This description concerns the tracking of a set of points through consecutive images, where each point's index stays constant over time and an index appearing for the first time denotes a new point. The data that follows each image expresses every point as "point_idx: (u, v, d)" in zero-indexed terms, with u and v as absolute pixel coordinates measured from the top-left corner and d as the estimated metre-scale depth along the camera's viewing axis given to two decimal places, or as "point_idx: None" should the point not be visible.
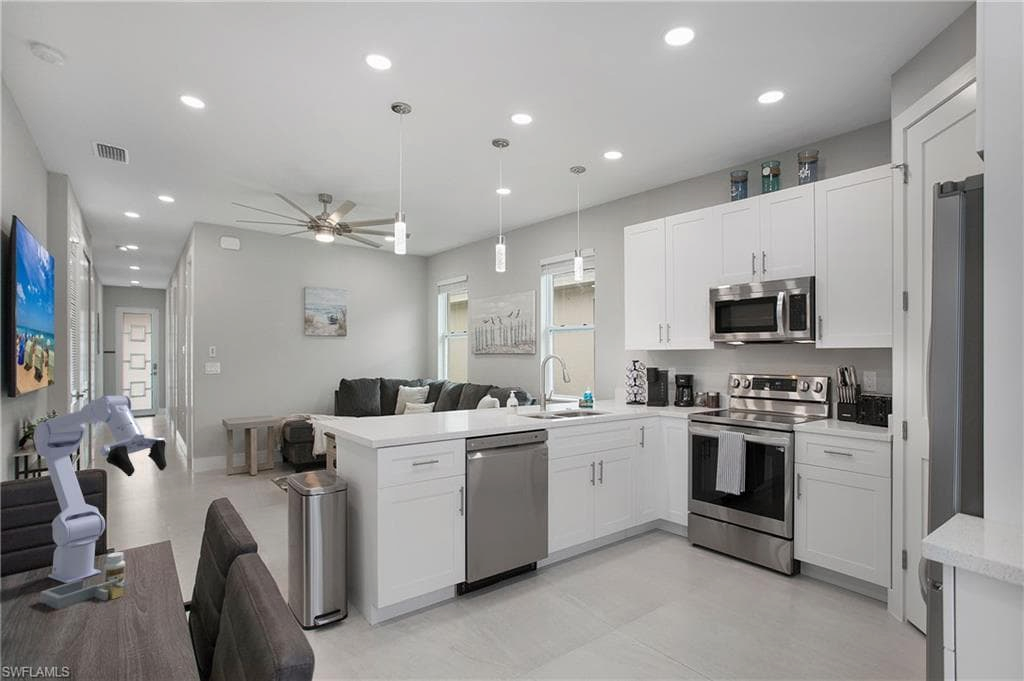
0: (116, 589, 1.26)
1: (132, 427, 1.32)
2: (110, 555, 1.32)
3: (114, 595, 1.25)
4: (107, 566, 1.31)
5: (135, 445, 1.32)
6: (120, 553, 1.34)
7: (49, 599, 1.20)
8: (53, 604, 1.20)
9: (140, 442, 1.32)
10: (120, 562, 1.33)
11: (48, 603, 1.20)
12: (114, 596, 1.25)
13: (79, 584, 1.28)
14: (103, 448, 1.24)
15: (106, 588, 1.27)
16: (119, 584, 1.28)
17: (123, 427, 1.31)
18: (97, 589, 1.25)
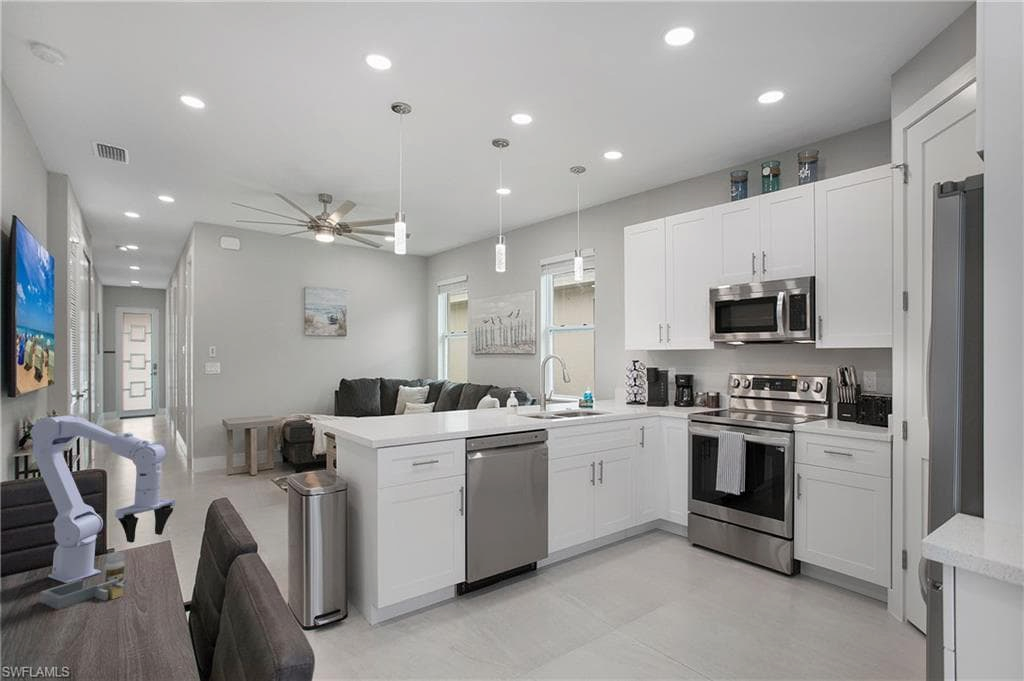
0: (116, 589, 1.26)
1: (153, 494, 1.39)
2: (110, 555, 1.32)
3: (114, 595, 1.25)
4: (107, 566, 1.31)
5: None
6: (120, 553, 1.34)
7: (49, 599, 1.20)
8: (53, 604, 1.20)
9: None
10: (120, 562, 1.33)
11: (48, 603, 1.20)
12: (114, 596, 1.25)
13: (79, 584, 1.28)
14: (119, 513, 1.33)
15: (106, 588, 1.27)
16: (119, 584, 1.28)
17: (146, 492, 1.38)
18: (97, 589, 1.25)
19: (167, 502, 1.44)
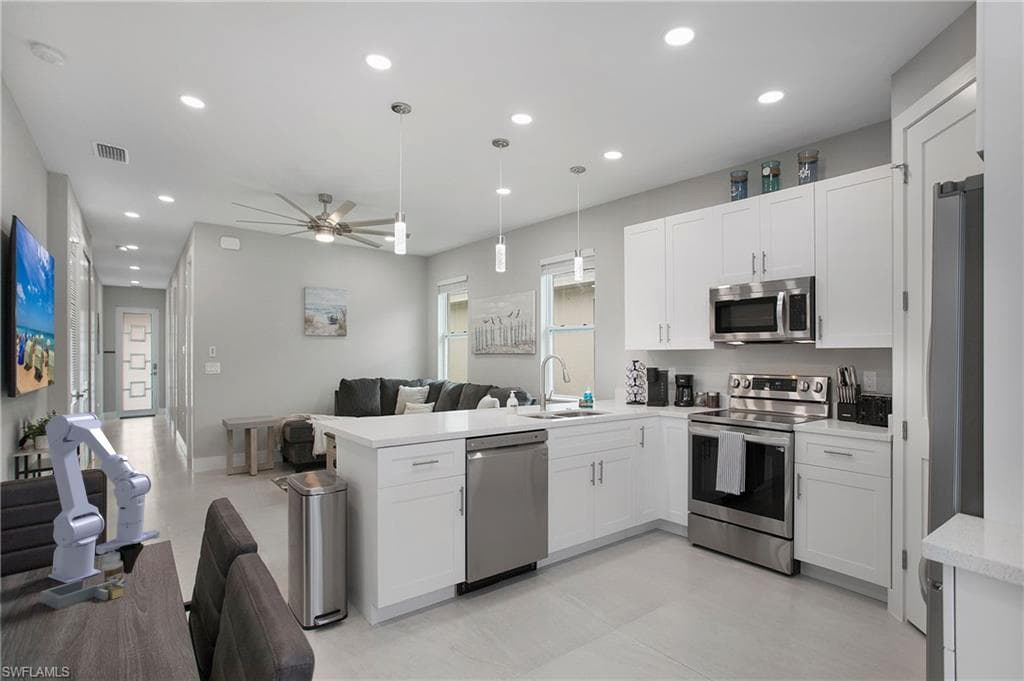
0: (116, 589, 1.26)
1: (136, 528, 1.35)
2: (106, 556, 1.32)
3: (114, 595, 1.25)
4: (105, 567, 1.30)
5: None
6: (117, 553, 1.33)
7: (49, 599, 1.20)
8: (53, 604, 1.20)
9: None
10: (117, 562, 1.32)
11: (48, 603, 1.20)
12: (114, 596, 1.25)
13: (79, 584, 1.28)
14: (99, 549, 1.29)
15: (106, 588, 1.27)
16: (119, 584, 1.28)
17: (128, 525, 1.34)
18: (97, 589, 1.25)
19: (151, 535, 1.40)
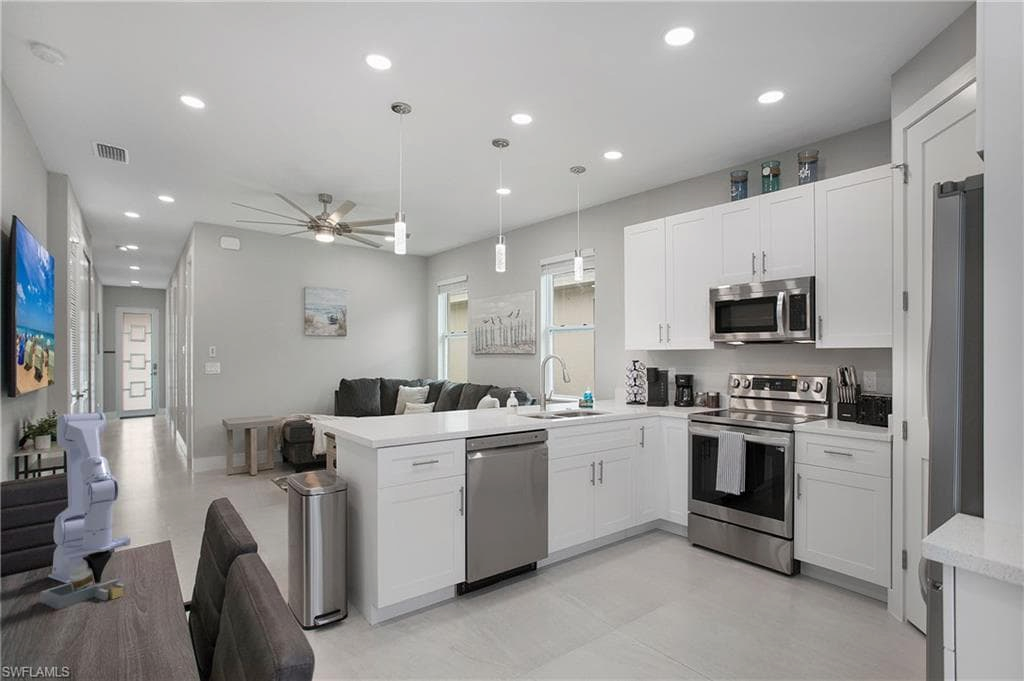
0: (116, 589, 1.26)
1: (104, 535, 1.28)
2: (72, 567, 1.25)
3: (114, 595, 1.25)
4: (72, 579, 1.24)
5: None
6: (83, 562, 1.26)
7: (49, 599, 1.20)
8: (53, 604, 1.20)
9: None
10: (85, 571, 1.26)
11: (48, 603, 1.20)
12: (114, 596, 1.25)
13: None
14: (64, 558, 1.22)
15: (106, 588, 1.27)
16: (119, 584, 1.28)
17: (95, 532, 1.27)
18: (97, 589, 1.25)
19: (120, 542, 1.33)
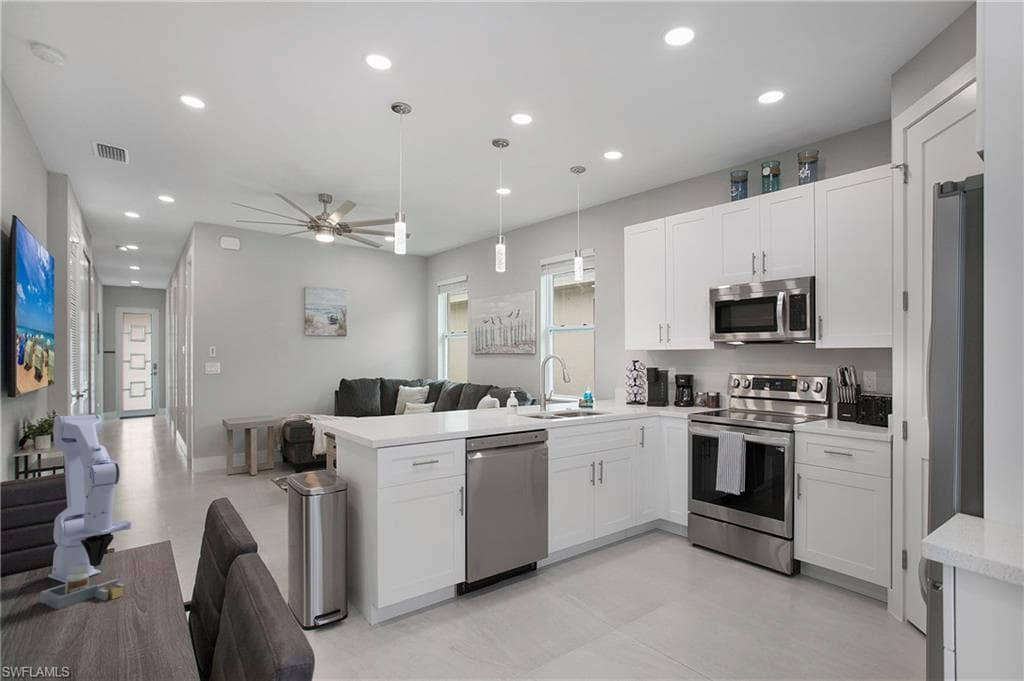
0: (116, 589, 1.26)
1: (104, 518, 1.29)
2: (72, 566, 1.25)
3: (114, 595, 1.25)
4: (69, 578, 1.23)
5: None
6: (83, 564, 1.26)
7: (49, 599, 1.20)
8: (53, 604, 1.20)
9: None
10: (83, 573, 1.25)
11: (48, 603, 1.20)
12: (114, 596, 1.25)
13: None
14: (64, 540, 1.23)
15: (106, 588, 1.27)
16: (119, 584, 1.28)
17: (96, 515, 1.27)
18: (97, 589, 1.25)
19: (121, 526, 1.33)
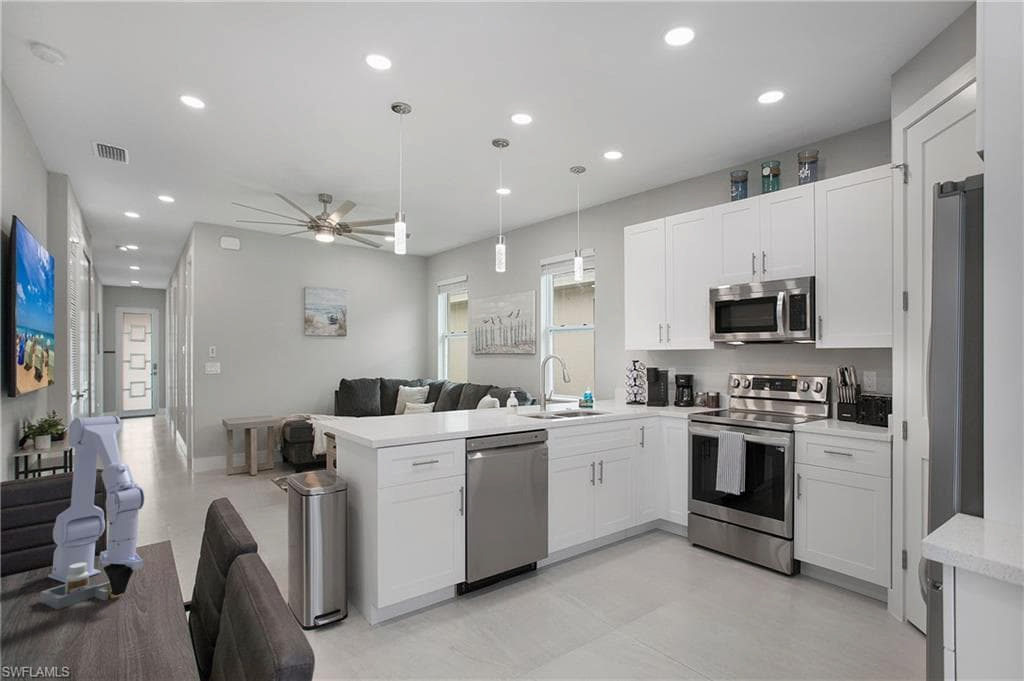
0: None
1: (109, 546, 1.23)
2: (72, 566, 1.25)
3: (113, 595, 1.25)
4: (69, 578, 1.23)
5: None
6: (83, 563, 1.26)
7: (49, 599, 1.20)
8: (53, 604, 1.20)
9: None
10: (83, 573, 1.25)
11: (48, 603, 1.20)
12: (113, 596, 1.25)
13: None
14: None
15: (105, 588, 1.27)
16: None
17: None
18: (97, 589, 1.25)
19: (125, 562, 1.22)
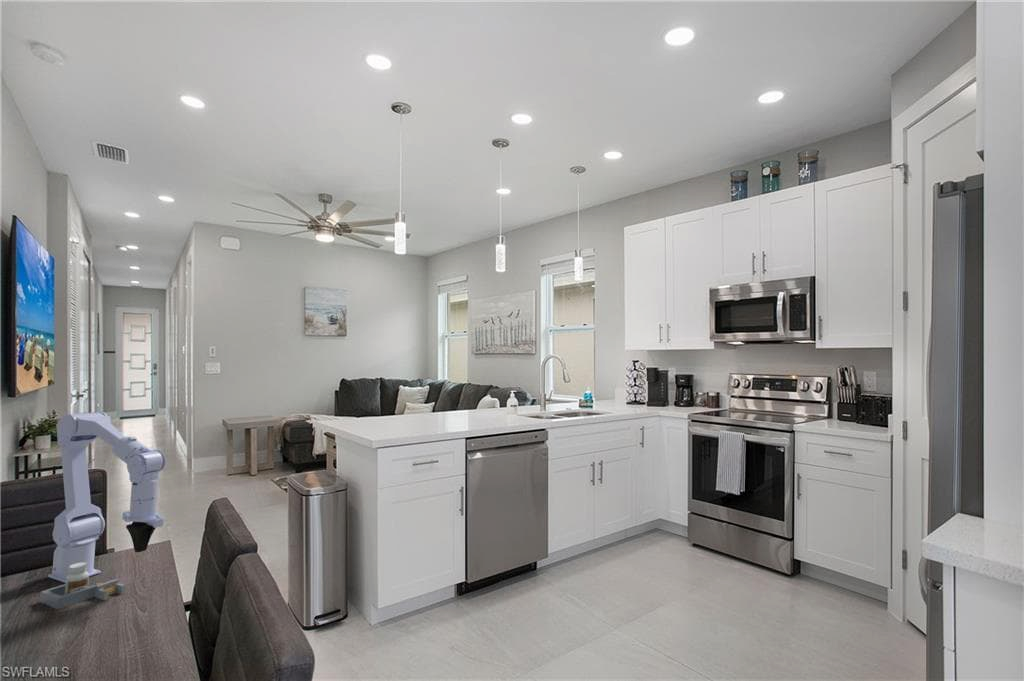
0: (109, 587, 1.27)
1: (131, 505, 1.30)
2: (72, 566, 1.25)
3: None
4: (69, 578, 1.23)
5: None
6: (83, 564, 1.26)
7: (49, 599, 1.20)
8: (53, 604, 1.20)
9: None
10: (83, 573, 1.25)
11: (48, 603, 1.20)
12: None
13: None
14: None
15: None
16: (119, 584, 1.28)
17: None
18: (97, 589, 1.25)
19: (147, 520, 1.29)
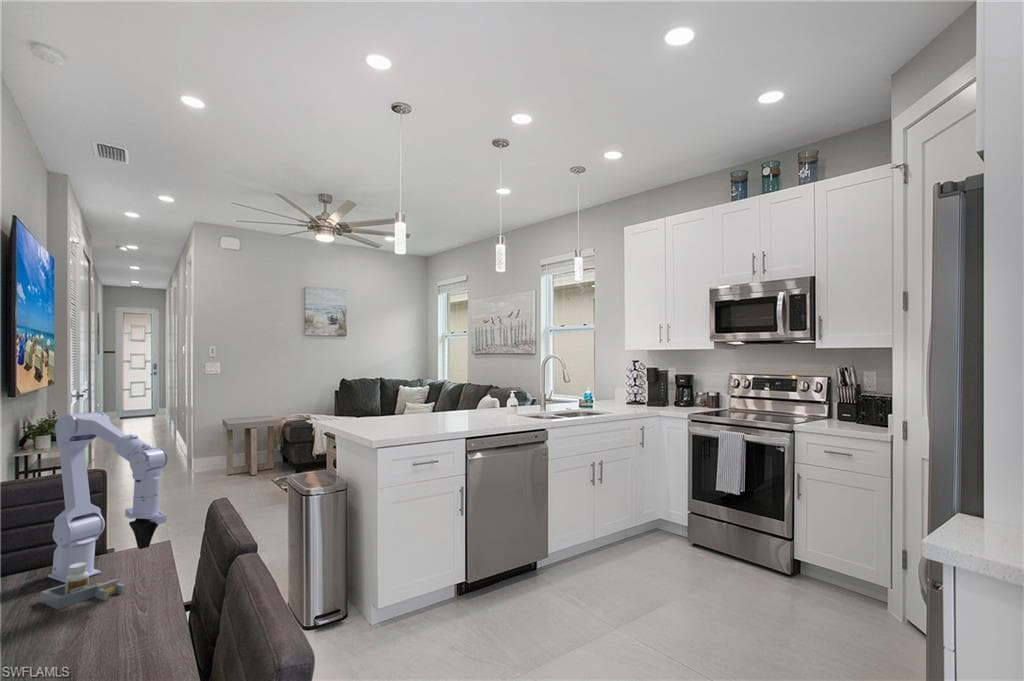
0: (109, 587, 1.27)
1: (134, 502, 1.31)
2: (72, 566, 1.25)
3: None
4: (69, 578, 1.23)
5: None
6: (83, 564, 1.26)
7: (49, 599, 1.20)
8: (53, 604, 1.20)
9: None
10: (83, 573, 1.26)
11: (48, 603, 1.20)
12: None
13: None
14: None
15: None
16: (119, 584, 1.28)
17: None
18: (97, 589, 1.25)
19: (150, 517, 1.30)
